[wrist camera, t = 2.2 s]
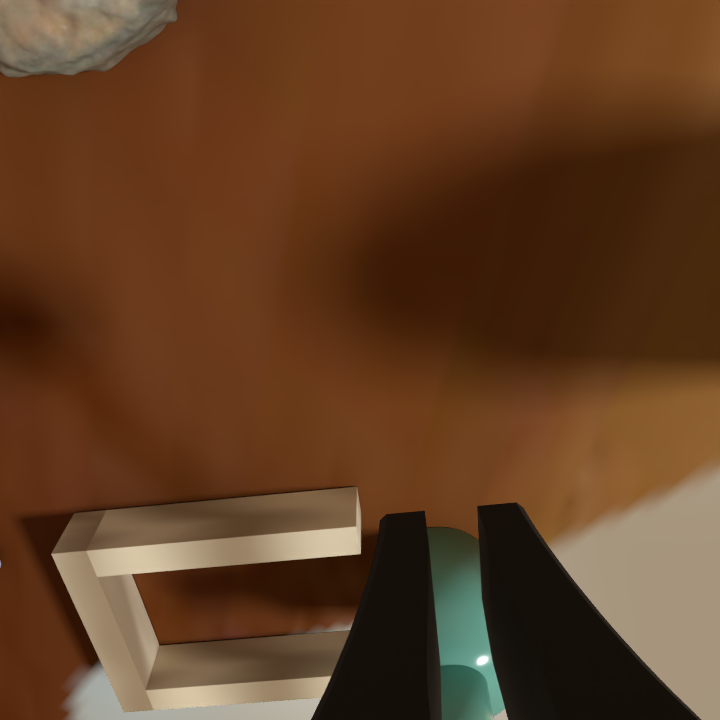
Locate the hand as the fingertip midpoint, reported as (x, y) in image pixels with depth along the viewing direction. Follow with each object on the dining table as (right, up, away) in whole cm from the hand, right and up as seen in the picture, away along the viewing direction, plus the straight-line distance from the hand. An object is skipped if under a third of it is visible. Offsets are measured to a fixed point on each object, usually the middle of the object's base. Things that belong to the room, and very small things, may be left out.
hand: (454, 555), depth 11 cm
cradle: (-6, -5, +15) cm, 17 cm away
